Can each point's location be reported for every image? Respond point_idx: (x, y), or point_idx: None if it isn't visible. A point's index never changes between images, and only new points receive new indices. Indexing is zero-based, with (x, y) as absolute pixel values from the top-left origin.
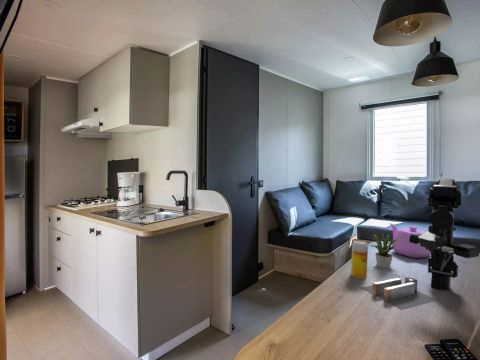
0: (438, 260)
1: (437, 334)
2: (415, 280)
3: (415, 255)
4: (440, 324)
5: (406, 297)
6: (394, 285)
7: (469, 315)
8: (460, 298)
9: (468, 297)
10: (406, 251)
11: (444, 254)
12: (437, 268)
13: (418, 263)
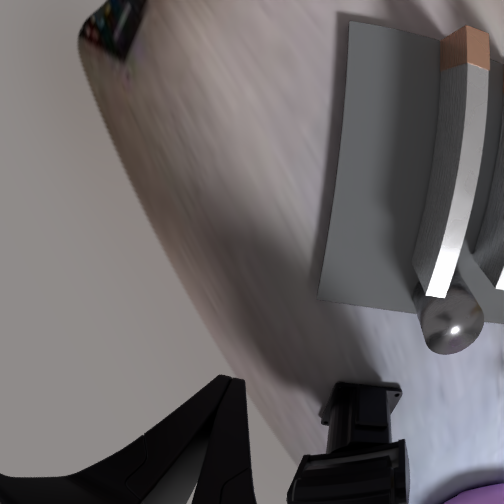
0: (205, 464)
1: (167, 15)
2: (434, 335)
3: (460, 498)
4: (201, 93)
5: (421, 190)
6: (501, 216)
7: (198, 283)
8: (286, 389)
9: (275, 409)
10: (482, 497)
11: (1, 474)
12: (241, 388)
13: (451, 482)
